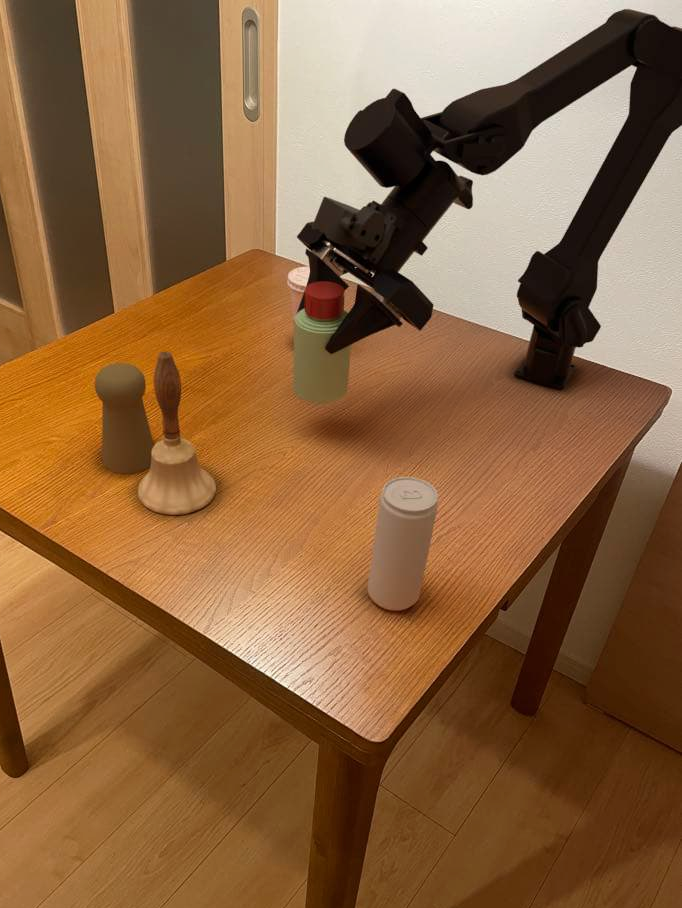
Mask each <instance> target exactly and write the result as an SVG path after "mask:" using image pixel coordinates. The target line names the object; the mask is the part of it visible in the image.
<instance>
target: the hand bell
mask: <svg viewBox="0 0 682 908" xmlns="http://www.w3.org/2000/svg"><path fill="white" fill-rule="evenodd" d="M153 390H154V394H155V399H156V401H157V404H158V407H159V408H160V411H161V415H162V416H161V417H162V429H163V430H162V435H163V439H161V440H159V441H157V443H154V447H153V449H152V453H151V455H152V457H151V466H150V467H149V471H148V473H147V474H146V475H144V476H143V478H142V479H141V480H140V482H139V485H138V487H137V497H138V499H139V501H140V503H141V505H143V506H144V507H145V508H147V509H148V510H150V511H152V512H155V513H157V514H161V515H162V514H163V515H167V516H180V515H181V516H182V515H186V514H190V513H193V512H196V511H199V510H201V509H203V508H205V507H206V506H207V505H208V504H209V503H211V502H212V500H213V499H214V497H215V495H216V493H217V484H216V482H215V479H214V478H213V476H212V474H210V473H209V472H208V471H206V470H205V469H204V468H202V467H201V465H200V463H199V460H198V457H197V453H196V448H195V446H194V444H193V443H192V442H191V441H189V440H188V439H185V438H181V429H180V422H179V408H180V407H179V406H180V404H181V403H180V402H181V400H182V399H181V398H182V380H181V374H180V372H179V369H178V367H177V364H176V363H175V360H174V358H173V354H172V353H171V351H168V350H167V351H165V350H164V351H160V352H159V353H158V354H157V361H156V365H155V368H154V373H153Z"/></svg>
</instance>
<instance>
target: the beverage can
mask: <svg viewBox="0 0 682 908" xmlns="http://www.w3.org/2000/svg"><path fill="white" fill-rule="evenodd" d="M438 495H439V494H438V491H437V490H436V488H435V487H434V486H433V485H432V484H431V483H429V482H427V481H426V480H424V479H422V478H419V477H413V476H400V477H396V478H392V479H390V480H388V481H387V482H386V483H385V484H384V485H383V488H382V491H381V493H380V496H379V502H378V508H377V509H378V510H377V516H376V523H375V529H374V530H375V531H374V537H373V538H374V539H373V546H372V552H371V559H370V567H369V573H368V579H367V580H368V581H367V593H368V596H369V598H370V599H371V600H372V601H373V603H375V604H376V605H378V607H380V608H382V609H384V610H388V611H391V612H392V611H393V612H399V611H405V610H407V609H409V608H410V607H411V606H413V605H415V604H416V603H417V602H418V601H419V600H420V595H421V591H422V586H423V581H424V576H425V572H426V567H427V561H428V558H429V557H428V556H429V552H430V547H431V541H432V537H433V532H434V528H435V523H436V519H437V518H436V517H437V513H438V507H439V499H438V498H439V496H438Z"/></svg>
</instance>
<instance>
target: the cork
mask: <svg viewBox="0 0 682 908" xmlns="http://www.w3.org/2000/svg"><path fill="white" fill-rule="evenodd" d="M94 379H95V380H94V390H95V393H96V396H97V397H98V399H99V400H100V401H101V403H102V407H101V410H102V418H101V419H102V420H101V422H102V425H101V428H102V429H101V430H102V431H101V445H102V446H101V462H102V465H103V466H104V467H105V468H106V469H107V470H109V471H111V472H113V473H116V474H122V475H123V474H124V475H130V474H131V475H132V474H137V473H141V472H144V471H146V470H147V469H150V467H151V457H152V455H151V453H152V449H153V447H154V445H155V443H154V439H153V435H152V433H151V428H150V423H149V420H148V416H147V412H146V408H145V405H144V401H143V397H144V396H145V394H146V388H147V386H146V378H145V376H144V374H143V372H142V371H141V369H140V368H138V367H137V366H136V365H133V364H130V363H127V362H125V363H124V362H116V363H111V364H107V365H106V366H103V367H102V368H100V369H99V371H98V372H97V373H96V376H95V378H94Z"/></svg>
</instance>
